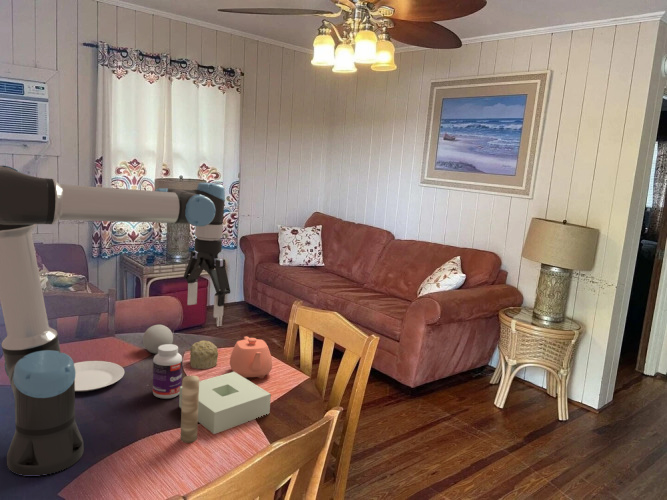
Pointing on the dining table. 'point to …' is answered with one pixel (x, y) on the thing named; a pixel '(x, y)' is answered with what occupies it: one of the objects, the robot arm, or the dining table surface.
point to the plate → (96, 374)
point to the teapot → (251, 358)
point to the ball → (157, 337)
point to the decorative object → (203, 355)
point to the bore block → (229, 402)
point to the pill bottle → (167, 372)
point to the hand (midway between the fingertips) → (204, 310)
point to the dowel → (189, 408)
